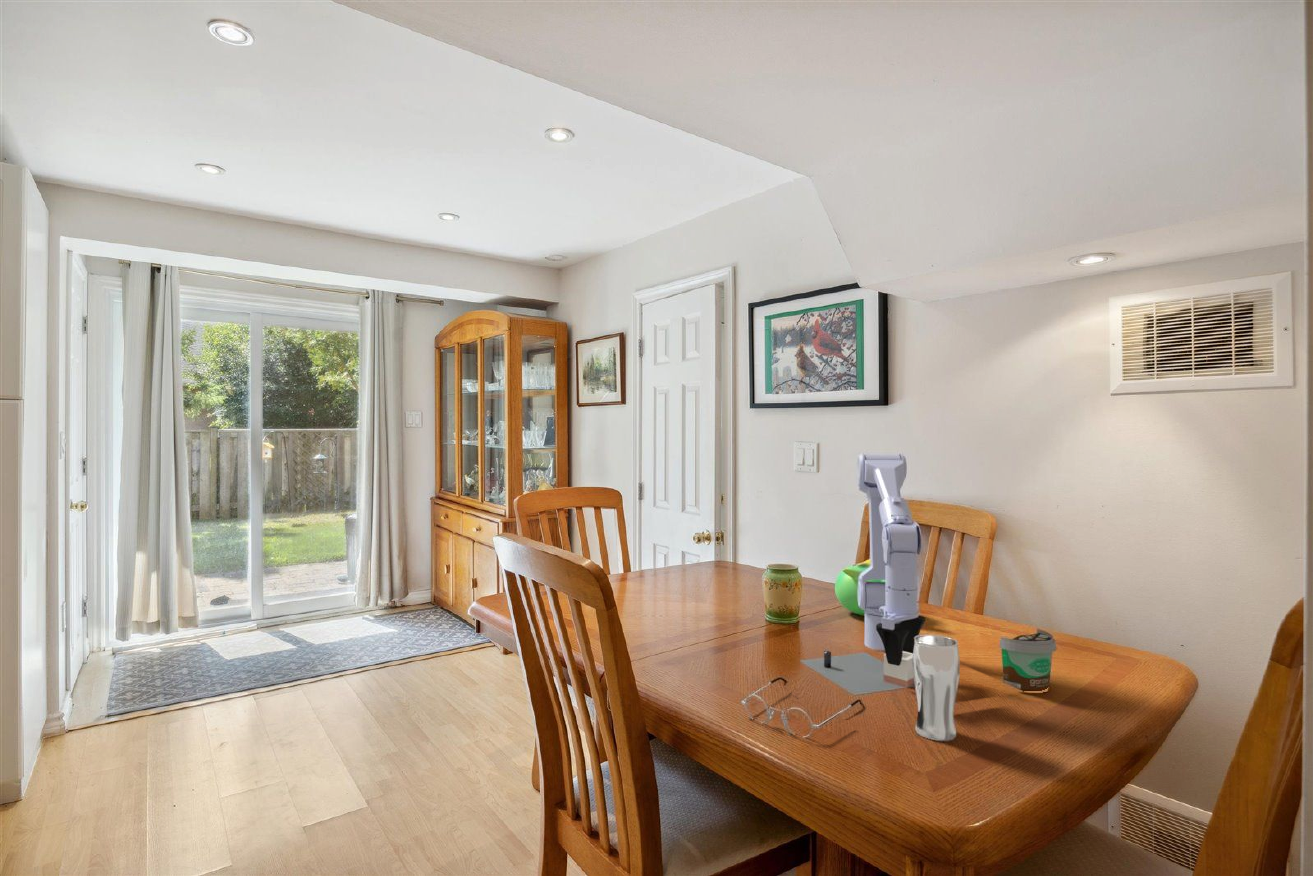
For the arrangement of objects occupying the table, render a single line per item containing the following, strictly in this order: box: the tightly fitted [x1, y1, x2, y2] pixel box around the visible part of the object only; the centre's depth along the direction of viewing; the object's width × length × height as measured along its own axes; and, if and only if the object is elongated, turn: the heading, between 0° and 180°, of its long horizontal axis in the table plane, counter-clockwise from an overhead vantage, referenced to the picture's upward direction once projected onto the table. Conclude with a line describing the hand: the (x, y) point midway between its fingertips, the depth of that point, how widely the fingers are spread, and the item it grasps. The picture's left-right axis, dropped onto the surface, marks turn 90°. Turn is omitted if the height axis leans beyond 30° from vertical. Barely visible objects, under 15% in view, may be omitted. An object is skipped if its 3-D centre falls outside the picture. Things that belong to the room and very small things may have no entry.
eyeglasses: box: [740, 676, 862, 739], centre depth 112 cm, size 16×19×5 cm
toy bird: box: [834, 558, 885, 617], centre depth 174 cm, size 18×17×15 cm
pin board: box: [798, 652, 915, 696], centre depth 128 cm, size 16×19×2 cm
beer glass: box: [913, 633, 960, 742], centre depth 105 cm, size 7×7×15 cm
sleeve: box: [883, 651, 914, 687], centre depth 123 cm, size 5×5×5 cm
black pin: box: [823, 650, 832, 668], centre depth 131 cm, size 1×1×3 cm
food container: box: [998, 628, 1058, 692], centre depth 123 cm, size 12×6×10 cm, turn 117°
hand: (901, 658), depth 123 cm, fingers open, 7 cm apart
